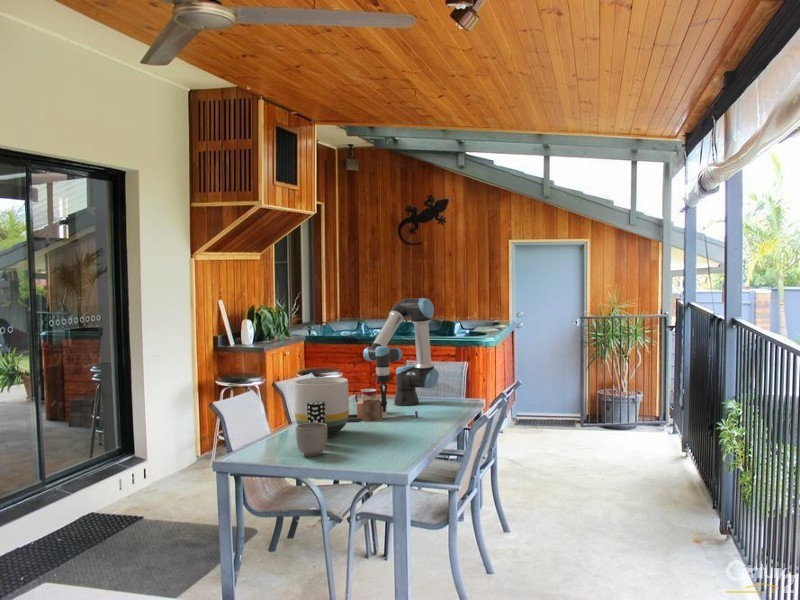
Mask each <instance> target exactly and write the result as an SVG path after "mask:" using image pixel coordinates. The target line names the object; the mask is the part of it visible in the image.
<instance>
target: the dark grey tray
mask: <svg viewBox="0 0 800 600" xmlns="http://www.w3.org/2000/svg"><path fill="white" fill-rule="evenodd" d="M347 423H361V418H357V413H355V414H354V413H353V414H349V416H348V420H347Z"/></svg>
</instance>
